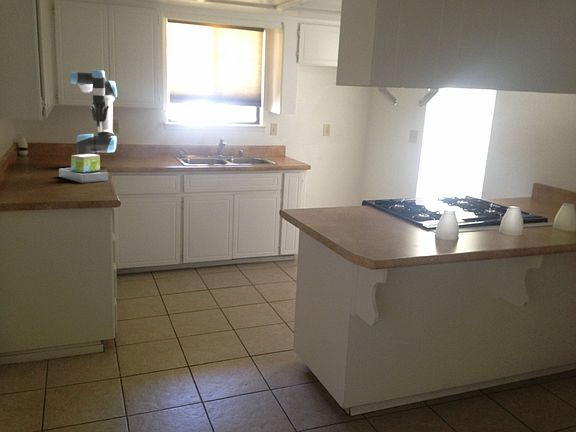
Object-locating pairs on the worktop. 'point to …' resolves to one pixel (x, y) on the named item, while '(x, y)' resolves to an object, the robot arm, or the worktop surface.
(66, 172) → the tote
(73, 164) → the tea box
